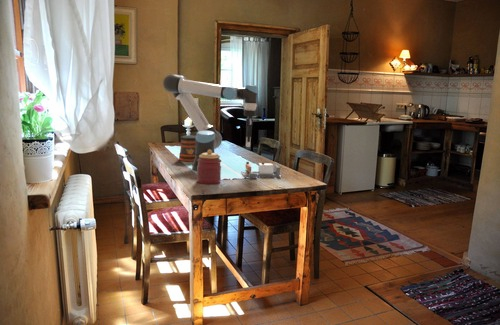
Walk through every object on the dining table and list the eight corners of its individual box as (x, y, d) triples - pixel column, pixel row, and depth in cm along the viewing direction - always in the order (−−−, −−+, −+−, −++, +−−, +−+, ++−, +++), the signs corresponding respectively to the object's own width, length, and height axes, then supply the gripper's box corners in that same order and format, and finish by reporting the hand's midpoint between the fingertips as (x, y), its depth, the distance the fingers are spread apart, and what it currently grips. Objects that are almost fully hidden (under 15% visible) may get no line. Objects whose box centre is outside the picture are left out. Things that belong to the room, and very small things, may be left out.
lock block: (259, 174, 230) (260, 163, 229) (258, 172, 235) (258, 161, 234) (272, 175, 231) (273, 163, 230) (270, 173, 237) (271, 162, 235)
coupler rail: (244, 178, 221) (245, 169, 220) (241, 172, 236) (241, 163, 235) (281, 179, 224) (282, 169, 223) (276, 173, 239) (276, 164, 238)
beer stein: (203, 157, 279) (204, 130, 275) (208, 161, 265) (209, 132, 262) (177, 158, 273) (178, 130, 269) (180, 162, 259) (181, 132, 255)
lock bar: (248, 171, 234) (248, 165, 234) (245, 167, 246) (245, 161, 245) (251, 171, 235) (251, 165, 234) (248, 167, 246) (248, 161, 246)
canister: (222, 184, 204) (223, 151, 201) (197, 184, 202) (198, 151, 198) (218, 178, 217) (220, 147, 214) (195, 178, 214) (196, 147, 211)
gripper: (257, 110, 237) (255, 148, 241) (254, 109, 250) (252, 145, 254) (245, 110, 236) (243, 148, 240) (243, 108, 249) (241, 145, 253)
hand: (247, 146), depth 247 cm, fingers closed
